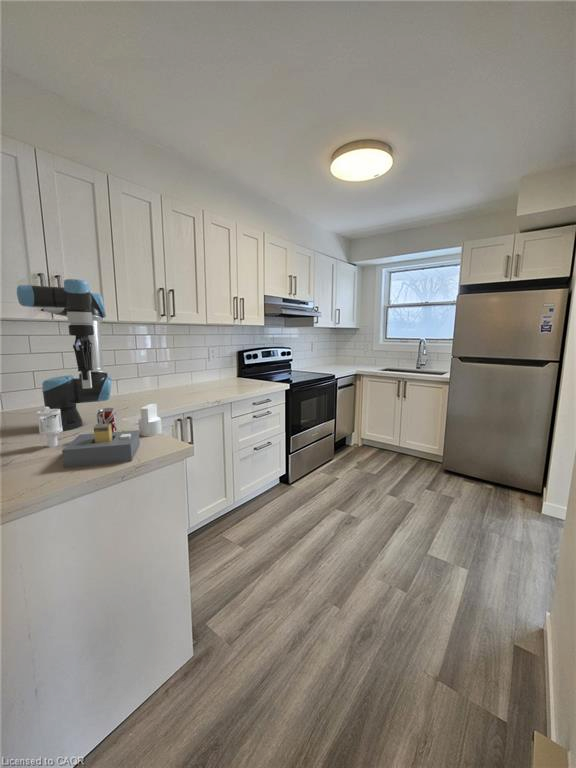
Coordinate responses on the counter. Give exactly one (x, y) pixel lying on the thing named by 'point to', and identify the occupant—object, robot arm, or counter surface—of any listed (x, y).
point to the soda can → (107, 417)
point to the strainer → (50, 425)
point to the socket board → (101, 449)
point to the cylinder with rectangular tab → (149, 421)
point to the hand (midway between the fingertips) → (87, 388)
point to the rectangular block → (103, 433)
